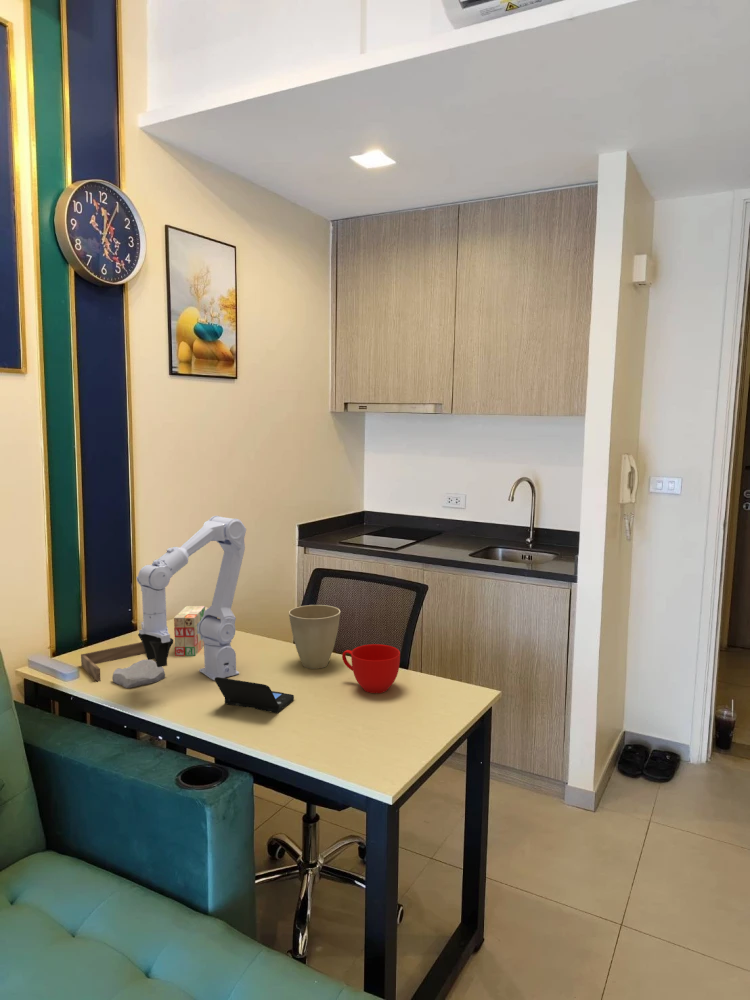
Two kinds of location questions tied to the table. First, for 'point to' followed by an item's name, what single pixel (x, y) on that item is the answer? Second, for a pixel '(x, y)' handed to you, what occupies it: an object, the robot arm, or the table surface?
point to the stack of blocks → (188, 631)
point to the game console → (252, 695)
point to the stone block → (139, 674)
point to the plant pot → (314, 633)
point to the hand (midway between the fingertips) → (156, 662)
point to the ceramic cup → (374, 666)
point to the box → (109, 657)
